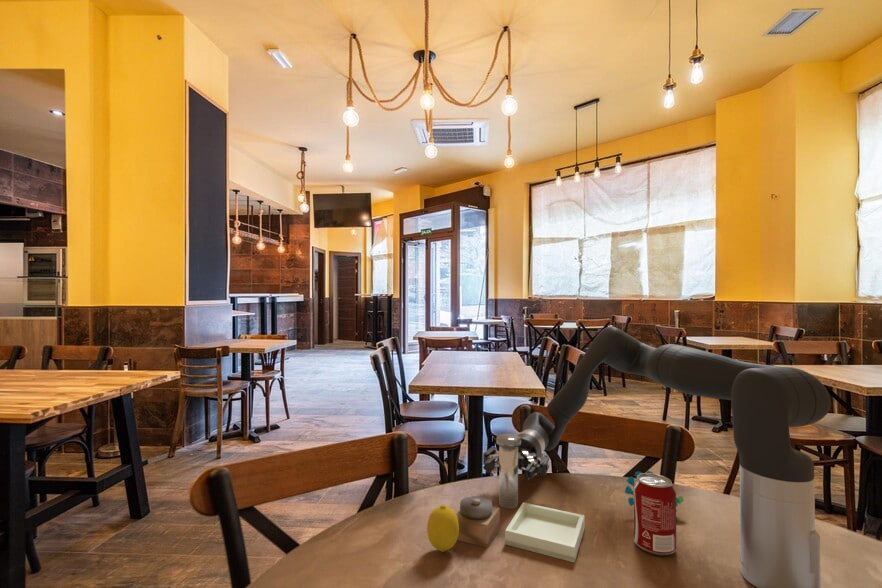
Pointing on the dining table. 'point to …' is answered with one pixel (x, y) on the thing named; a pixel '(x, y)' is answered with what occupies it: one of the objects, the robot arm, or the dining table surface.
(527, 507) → the tray
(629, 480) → the gear
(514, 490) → the pin
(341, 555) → the dining table surface
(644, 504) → the soda can
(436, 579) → the dining table surface
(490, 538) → the pulley stand
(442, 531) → the lemon
